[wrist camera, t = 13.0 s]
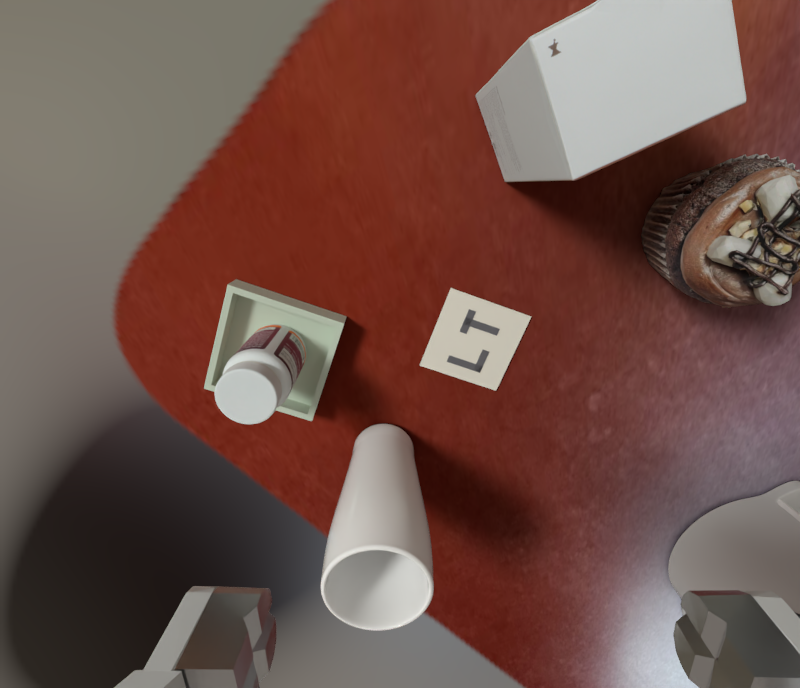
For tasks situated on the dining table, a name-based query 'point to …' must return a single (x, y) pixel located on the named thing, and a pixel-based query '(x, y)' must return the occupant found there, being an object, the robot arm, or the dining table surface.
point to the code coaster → (474, 339)
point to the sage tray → (264, 307)
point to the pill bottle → (261, 374)
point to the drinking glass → (379, 537)
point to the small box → (611, 85)
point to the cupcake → (729, 232)
